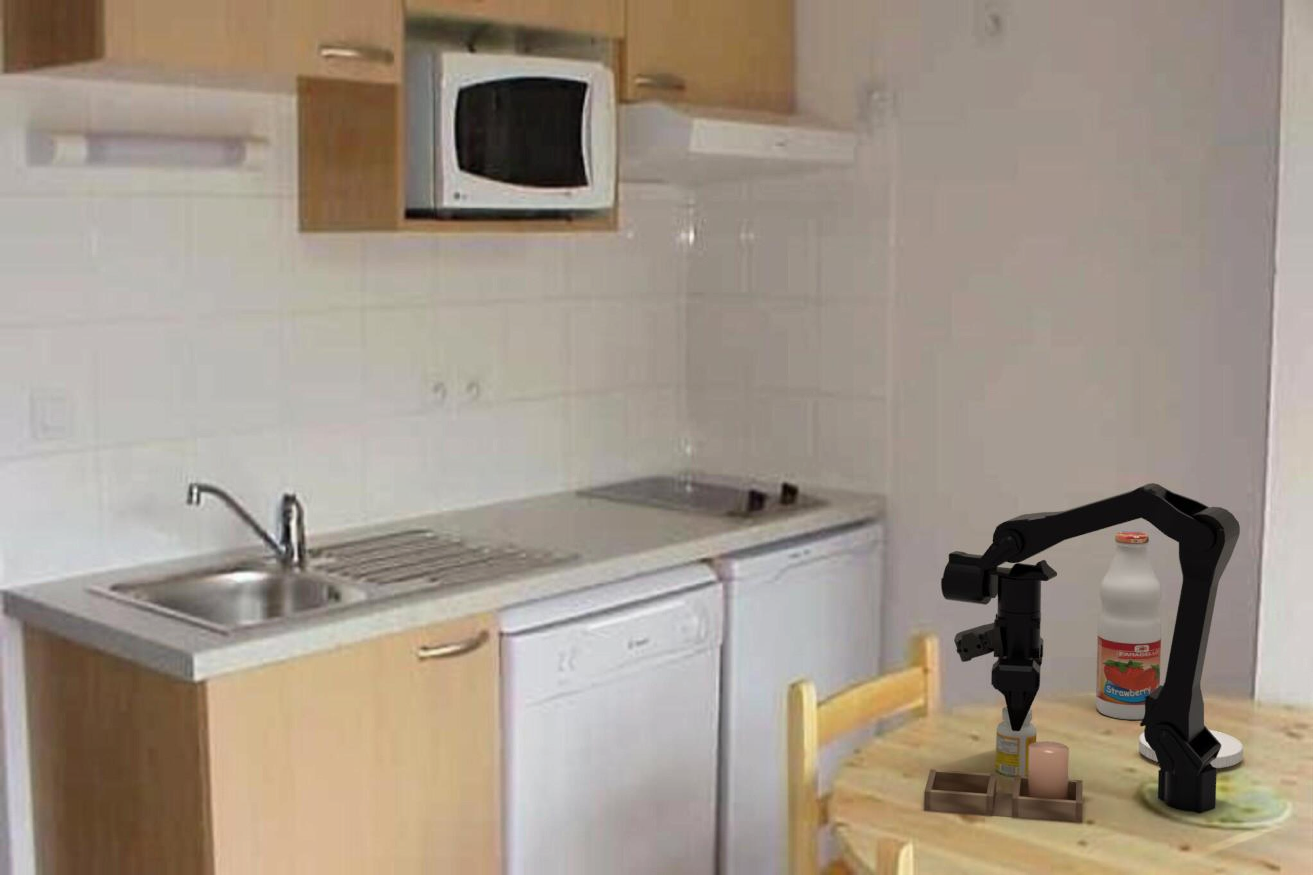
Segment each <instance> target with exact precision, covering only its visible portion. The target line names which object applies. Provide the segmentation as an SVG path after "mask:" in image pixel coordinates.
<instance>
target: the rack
mask: <svg viewBox="0 0 1313 875" xmlns="http://www.w3.org/2000/svg"><path fill="white" fill-rule="evenodd" d="M1083 785H1084V781H1083V780H1082V779H1069V778H1068V800H1059V799H1046V798H1033V797H1028V776H1016V775H1015V777H1014V781H1013V787H1012V788H1013V789H1012V793H1008V792H999V791H998V792H997V773H987V772H975V771H974V772H972V771H960V770H959V771H958V770H944V769H933V768H931V769H929V774H928V777H927V780H926V784H925V787H924V792H923V799H924V800H923V808H924V809H923V810H924V811H925V812H939V813H949V814H950V813H953V814H965V815H977V816H987V817H988V816H989V817H1001V818H1013V819H1015V818H1016V819H1027V820H1038V821H1039V820H1040V821H1041V820H1042V821H1049V822H1051V821H1053V822H1062V823H1063V822H1064V823H1074V824H1076V823H1078V824H1082V823H1083V800H1084V798H1083V792H1084V791H1083V789H1084V786H1083Z"/></svg>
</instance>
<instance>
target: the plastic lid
mask: <svg viewBox="0 0 1313 875" xmlns="http://www.w3.org/2000/svg"><path fill="white" fill-rule="evenodd" d="M1208 730H1209V731H1210V732H1211V733H1212V734H1213V736H1214V737H1215V738H1216V739H1217V740H1218V741H1219V742H1220V744H1221V749H1220V751H1219V753H1218V755H1217V758H1216V759H1213V760H1212V761H1211V762H1210V764H1211V765H1212V767H1215V768H1217V769H1222V768H1228V767H1232V766H1234V765H1237V764H1239V763H1240V762H1241V761H1242V760H1243V756H1244V745H1243V743H1242V741H1240V740H1239V739H1238V738H1236V737H1234V736H1232V735H1230V734H1227V733H1223V732H1220V731H1216V730H1212V729H1208ZM1138 750H1139V752H1140V753H1141V755H1142V756H1144V757H1146V758H1147V759H1150V760H1151V761H1152V760H1153V761H1154V762H1157V763H1158V760H1157V757H1156V754H1155V751H1154V750H1153V749H1152V748H1151V747H1150V746H1149V744H1148V743H1147V742H1146V740H1145V737H1144V732H1141V734H1139V736H1138Z"/></svg>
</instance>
